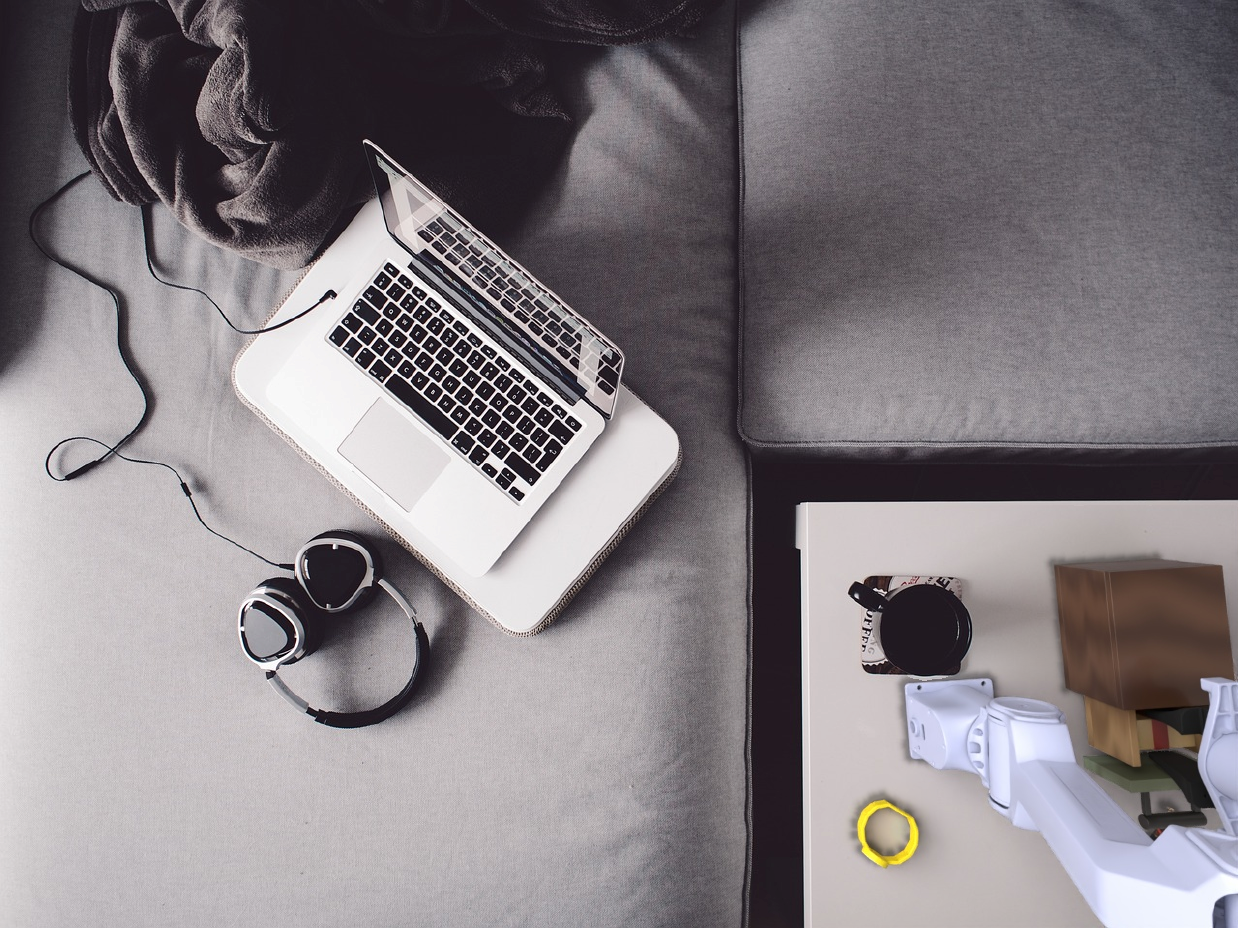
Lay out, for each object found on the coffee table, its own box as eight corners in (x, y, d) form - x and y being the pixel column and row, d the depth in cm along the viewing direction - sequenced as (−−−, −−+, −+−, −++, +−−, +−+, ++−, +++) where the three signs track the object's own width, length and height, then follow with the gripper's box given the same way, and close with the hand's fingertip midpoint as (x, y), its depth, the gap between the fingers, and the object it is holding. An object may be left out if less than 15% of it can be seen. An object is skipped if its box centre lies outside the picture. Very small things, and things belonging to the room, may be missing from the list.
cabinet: (1167, 681, 76) (1237, 703, 67) (1065, 688, 75) (1123, 710, 67) (1155, 558, 76) (1222, 565, 68) (1053, 564, 76) (1109, 572, 68)
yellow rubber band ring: (871, 787, 75) (843, 836, 74) (881, 795, 72) (851, 846, 71) (919, 821, 74) (891, 870, 73) (931, 830, 72) (902, 881, 71)
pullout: (1181, 801, 74) (1238, 831, 67) (1087, 808, 74) (1135, 838, 67) (1164, 644, 75) (1219, 657, 68) (1072, 650, 75) (1118, 664, 68)
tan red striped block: (1102, 739, 73) (1128, 751, 70) (1099, 709, 73) (1125, 720, 70) (1167, 735, 73) (1196, 747, 70) (1164, 705, 73) (1193, 715, 70)
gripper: (1345, 873, 56) (1202, 802, 70) (1324, 693, 57) (1186, 657, 71) (1261, 879, 56) (1133, 806, 70) (1241, 698, 57) (1119, 661, 71)
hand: (1155, 731), depth 70 cm, fingers open, 4 cm apart
